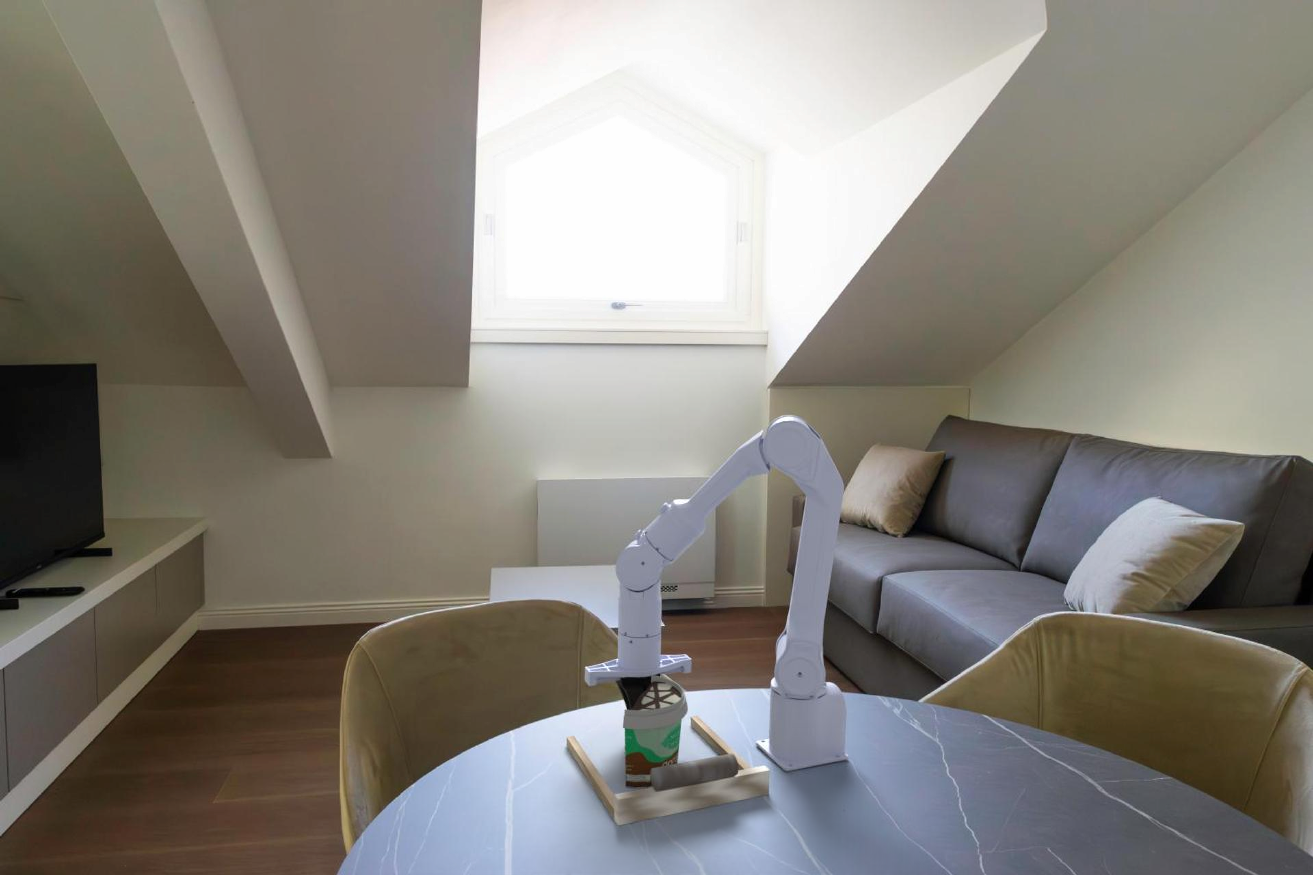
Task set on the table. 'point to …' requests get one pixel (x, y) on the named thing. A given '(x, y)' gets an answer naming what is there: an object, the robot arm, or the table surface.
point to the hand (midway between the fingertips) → (637, 728)
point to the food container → (653, 730)
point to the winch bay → (681, 782)
